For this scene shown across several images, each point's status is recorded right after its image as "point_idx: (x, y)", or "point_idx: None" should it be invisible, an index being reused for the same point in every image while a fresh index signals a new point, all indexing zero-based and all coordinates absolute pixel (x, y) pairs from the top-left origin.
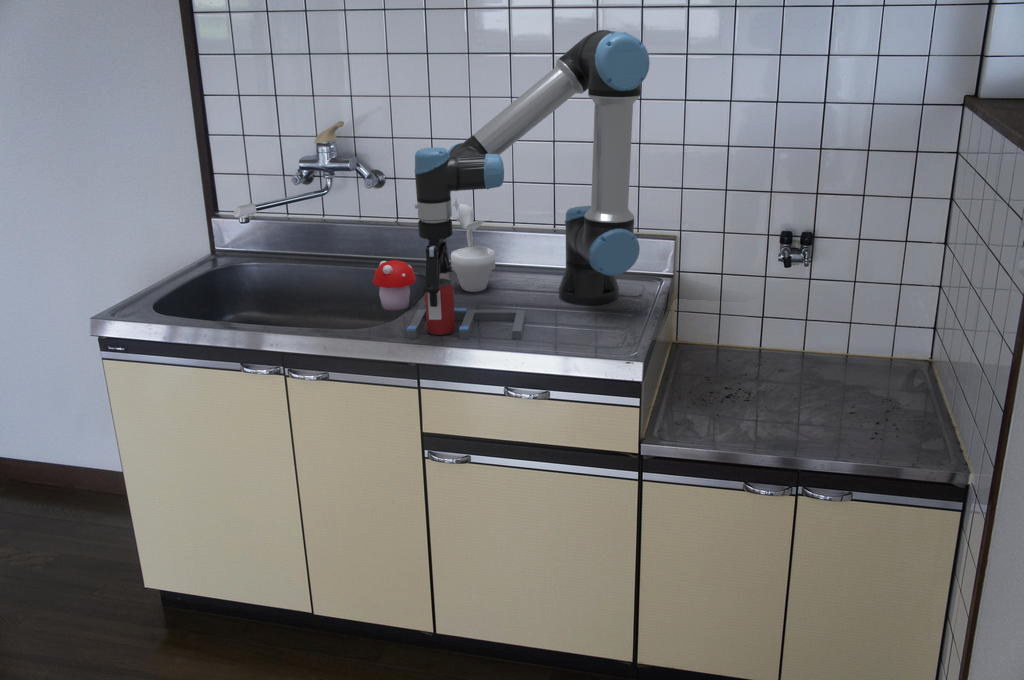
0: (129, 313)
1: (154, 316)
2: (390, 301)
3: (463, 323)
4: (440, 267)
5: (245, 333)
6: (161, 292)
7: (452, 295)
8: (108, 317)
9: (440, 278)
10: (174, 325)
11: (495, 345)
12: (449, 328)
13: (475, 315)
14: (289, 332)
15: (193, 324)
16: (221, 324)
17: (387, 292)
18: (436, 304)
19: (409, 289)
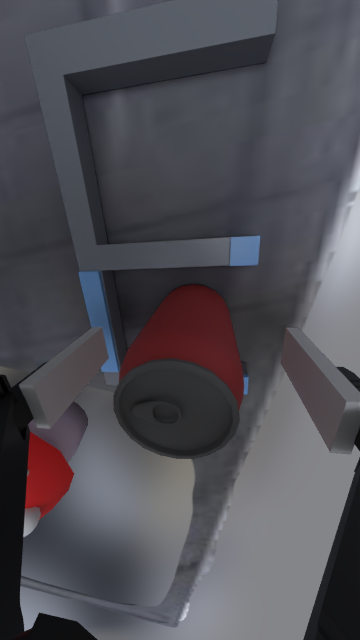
0: (157, 615)
1: (163, 605)
2: (79, 435)
3: (192, 262)
4: (21, 446)
5: (213, 556)
6: (94, 600)
7: (194, 322)
8: (170, 624)
9: (61, 399)
10: (188, 596)
11: (320, 124)
12: (218, 297)
13: (101, 242)
14: (208, 523)
15: (184, 587)
16: (182, 571)
17: (68, 457)
18: (353, 374)
19: None
